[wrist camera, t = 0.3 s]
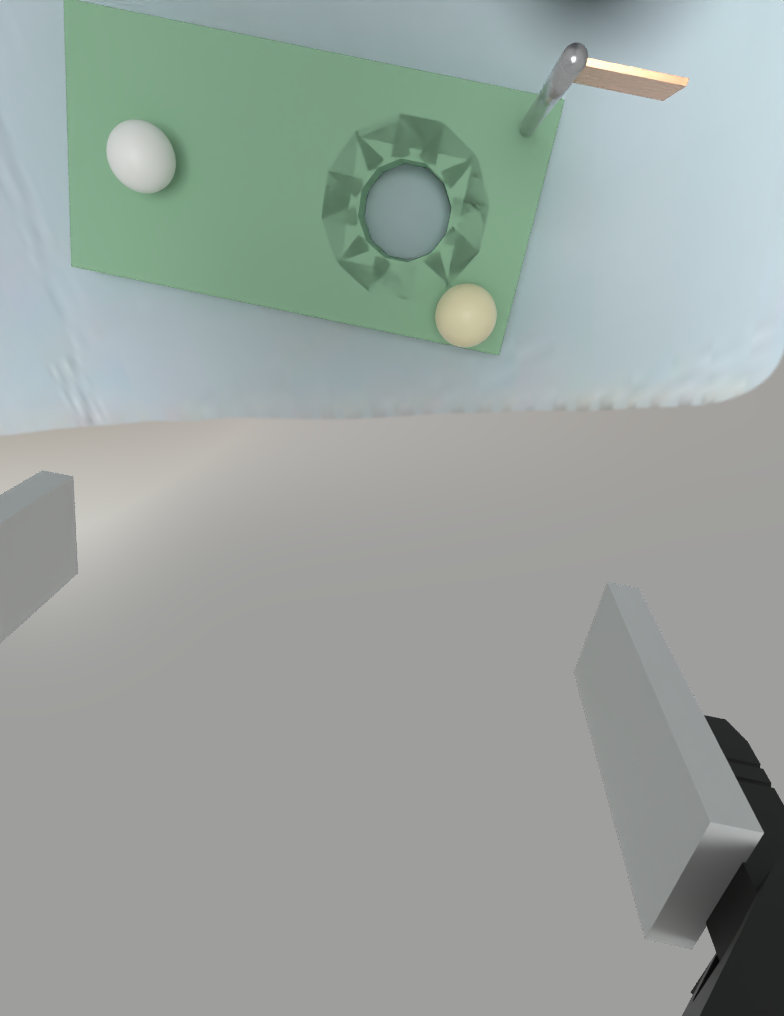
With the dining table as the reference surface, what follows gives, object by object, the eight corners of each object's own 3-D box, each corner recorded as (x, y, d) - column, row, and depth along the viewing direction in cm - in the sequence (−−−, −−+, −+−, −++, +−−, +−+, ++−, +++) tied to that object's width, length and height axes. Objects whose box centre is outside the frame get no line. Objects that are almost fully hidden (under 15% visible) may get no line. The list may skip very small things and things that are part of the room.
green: (93, 264, 39) (71, 266, 37) (89, 13, 34) (63, -3, 32) (496, 348, 39) (498, 355, 37) (557, 108, 34) (564, 99, 31)
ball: (126, 119, 34) (92, 107, 30) (187, 131, 34) (160, 121, 30) (125, 188, 35) (93, 184, 32) (184, 200, 35) (158, 197, 32)
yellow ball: (443, 275, 35) (441, 279, 32) (501, 287, 35) (506, 292, 32) (430, 335, 37) (428, 345, 34) (486, 347, 37) (489, 358, 34)
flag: (521, 117, 32) (565, 40, 19) (598, 132, 32) (693, 66, 19) (517, 135, 32) (558, 71, 19) (593, 150, 32) (683, 96, 19)
